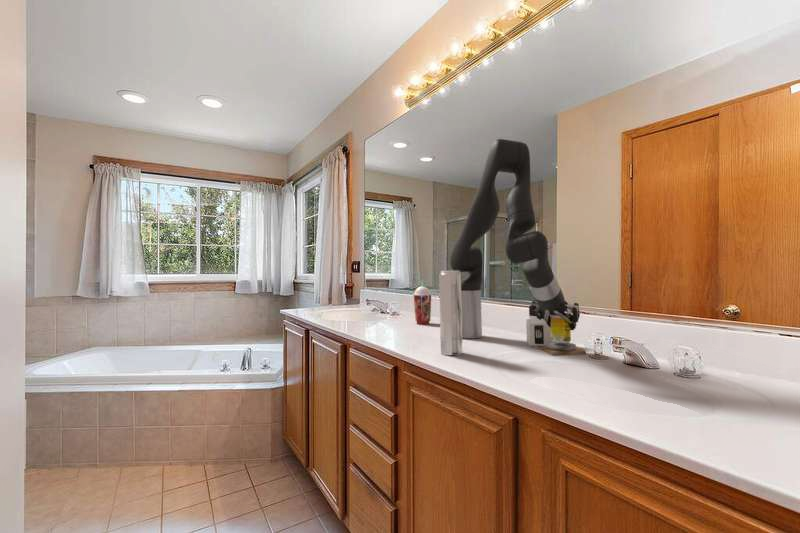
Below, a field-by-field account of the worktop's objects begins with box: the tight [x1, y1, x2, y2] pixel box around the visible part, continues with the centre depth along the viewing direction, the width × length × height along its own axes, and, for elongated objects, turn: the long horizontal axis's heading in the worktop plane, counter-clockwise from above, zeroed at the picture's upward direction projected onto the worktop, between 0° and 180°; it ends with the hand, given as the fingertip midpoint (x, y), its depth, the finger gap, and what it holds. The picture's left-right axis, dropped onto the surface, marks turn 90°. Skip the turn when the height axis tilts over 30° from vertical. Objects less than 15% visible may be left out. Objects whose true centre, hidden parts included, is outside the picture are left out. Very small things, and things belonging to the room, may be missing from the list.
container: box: [525, 305, 552, 347], centre depth 129 cm, size 8×8×13 cm
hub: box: [537, 342, 587, 356], centre depth 117 cm, size 10×10×2 cm
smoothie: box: [413, 279, 432, 326], centre depth 180 cm, size 8×8×20 cm
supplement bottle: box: [550, 315, 572, 343], centre depth 117 cm, size 6×6×10 cm
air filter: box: [438, 270, 464, 356], centre depth 117 cm, size 6×6×25 cm
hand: (562, 326), depth 119 cm, fingers closed on supplement bottle, 5 cm apart
